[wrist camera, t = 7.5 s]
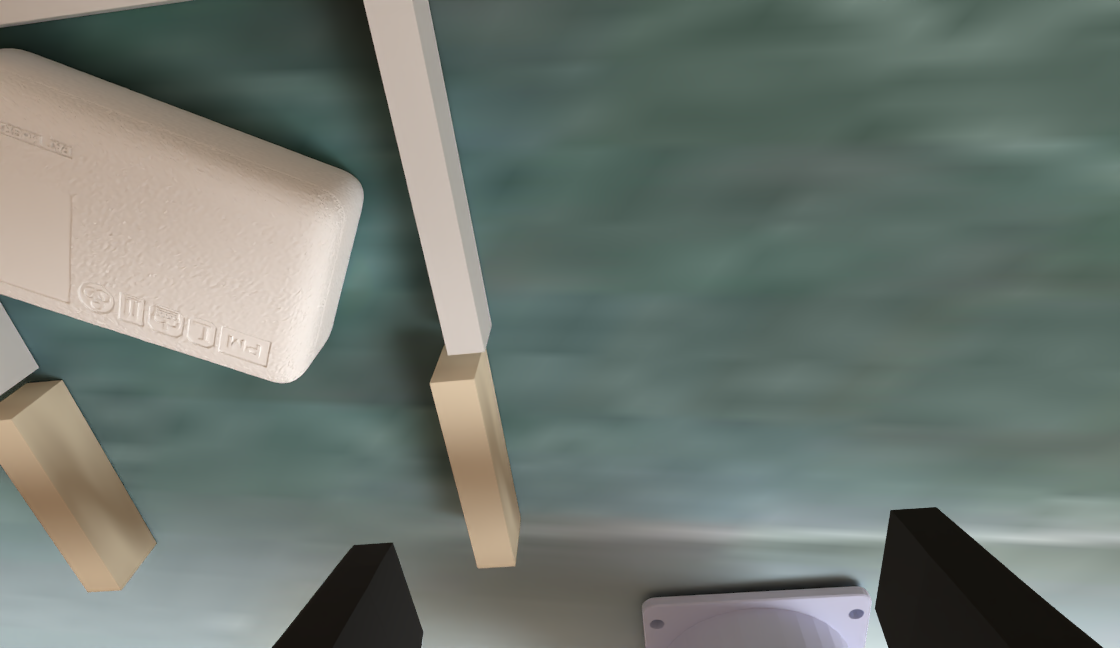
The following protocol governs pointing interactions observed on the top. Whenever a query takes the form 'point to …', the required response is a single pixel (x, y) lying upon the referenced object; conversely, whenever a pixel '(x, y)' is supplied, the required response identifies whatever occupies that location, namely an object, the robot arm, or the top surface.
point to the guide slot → (120, 532)
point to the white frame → (422, 146)
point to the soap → (167, 222)
